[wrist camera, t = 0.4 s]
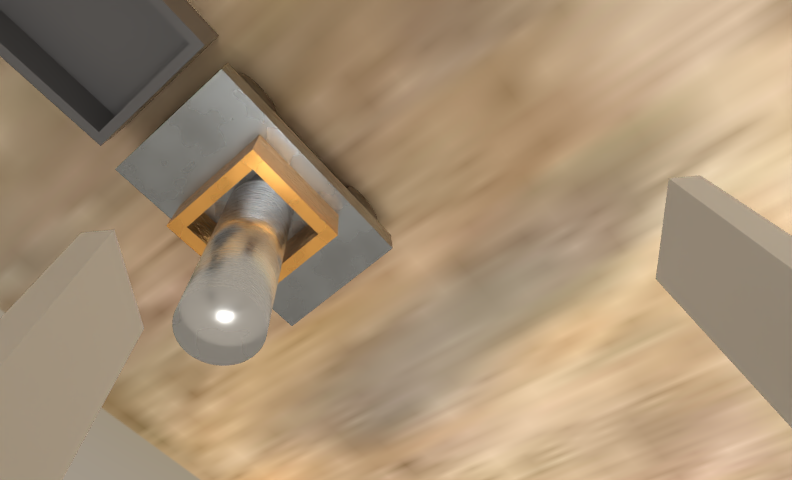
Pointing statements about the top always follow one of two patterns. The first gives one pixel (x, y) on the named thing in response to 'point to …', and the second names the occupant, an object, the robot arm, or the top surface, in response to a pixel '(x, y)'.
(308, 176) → the plate with orange frame
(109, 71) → the pin tray
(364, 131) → the top surface
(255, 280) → the pin
